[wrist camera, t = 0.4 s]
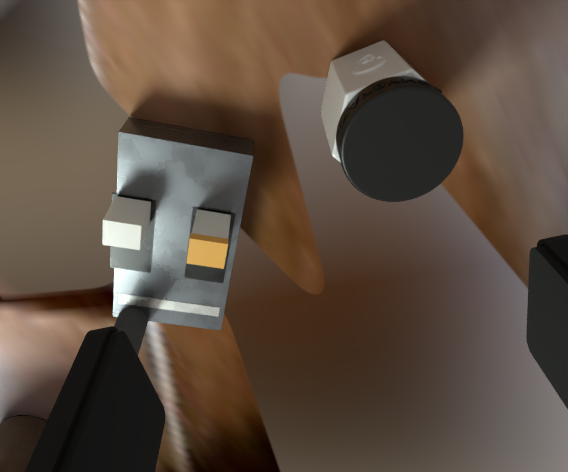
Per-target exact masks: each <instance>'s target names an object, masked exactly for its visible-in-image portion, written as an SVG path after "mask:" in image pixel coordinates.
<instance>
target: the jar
mask: <svg viewBox="0 0 568 472" xmlns="http://www.w3.org/2000/svg"><path fill="white" fill-rule="evenodd" d="M441 92H442V91H440V90H439V89H438V88H437V87H435V86H433V85H431V84H430V83H429V82H428V81H427V80H426V79H425V78H424V77H423V76H422V75H421V74H420V73H419V72H418V71H417V70H416V69H415V68H414V67H413V66H412V65H411V64H410V63H409V62H408V61H407V60H405V59H404V58H403V57H402V56H401V55H400V54H399V53H398V52H397V51H396V50H395V49H394V48H393V47H392V46H391V45H389V44H388V43H387V42H386V41H384V40H383V41H380V42H377V43H375V44H372V45H370V46H367V47H365V48H362V49H360V50H357V51H355V52H352V53H350V54H347V55H345V56H342V57H340V58H337V59H335V60H332V61H331V63H330V68H329V73H328V78H327V83H326V88H325V93H324V98H323V103H322V108H321V117H322V120H323V124H324V128H325V131H326V135H327V138H328V142H329V146H330V148H331V153H332V156H333V157H334V158H335V159H337V160H338V161H339V162H341V164H342V168H343V170H344V173H345V175H346V177H347V178H348V180H349V181H350V182H351V184H352V185H353V186H354V187H355V188H356V189H357V190H359V191H360V192H361V193H363V194H365V195H367V196H369V197H371V198H373V199H376V200H381V201H387V202H400V201H406V200H411V199H414V198H417V197H420V196H422V195H424V194H426V193H428V192H430V191H431V190H433V189H434V188H436V187H437V186H438V185H439V184H441V183H442V182H443V181H444V180H445V179H446V178H447V176H448V175H449V174H450V173H451V171H452V170H453V168H454V167H455V165H456V163H457V161H458V159H459V156H460V154H461V150H462V146H463V126H462V122H461V119H460V116H459V114H458V112H457V110H456V109H455V107H454V106H453V105H452V103H451V102H450V101H449V100H448V99H447V98H446V97H445V96H444V95H443V94H442V93H441Z"/></svg>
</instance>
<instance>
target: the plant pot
mask: <svg viewBox="0 0 568 472" xmlns="http://www.w3.org/2000/svg"><path fill="white" fill-rule="evenodd" d="M45 425H46V422H45V421H43V420H41V419H38V418H35V417H30V416H15V417H11V418H8V419H6V420H4V421H3V422H2V423H1V424H0V472H24V471H25V469H26V467H27V465H28V463H29V460H30V458H31V456H32V454H33V451H34V449H35V447H36V445H37V443H38V440H39V438H40V436H41V434H42V431H43V429H44V427H45Z"/></svg>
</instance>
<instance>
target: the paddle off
mask: <svg viewBox="0 0 568 472" xmlns="http://www.w3.org/2000/svg"><path fill="white" fill-rule="evenodd" d="M150 211H151V202H148V201H142V200H136V199H130V198H124V197H117V196H116V197H115V199H114V201H113V202H112V204H111V206H110V208H109V210H108V212H107V214H106V216H105V217H104V219H103V245H108V246H115V247H121V248H128V249H135V250H140V249H141V246H142V243H143V241H144V238H145V235H146V233H147V230H148V228H149V225H150Z"/></svg>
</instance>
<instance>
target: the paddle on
mask: <svg viewBox="0 0 568 472" xmlns="http://www.w3.org/2000/svg"><path fill="white" fill-rule="evenodd" d="M230 219H231V215H228V214H222V213H216V212H210V211H204V210H198V209H197V212H196V217H195V221H194V225H193V229H192V233H191V235H190V239H189V247H188V255H187V264H194V265H201V266H207V267H214V268H221V269H224V265H225V259H226V254H227V248H228V241H229V239H228V236H229V228H230Z"/></svg>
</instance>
